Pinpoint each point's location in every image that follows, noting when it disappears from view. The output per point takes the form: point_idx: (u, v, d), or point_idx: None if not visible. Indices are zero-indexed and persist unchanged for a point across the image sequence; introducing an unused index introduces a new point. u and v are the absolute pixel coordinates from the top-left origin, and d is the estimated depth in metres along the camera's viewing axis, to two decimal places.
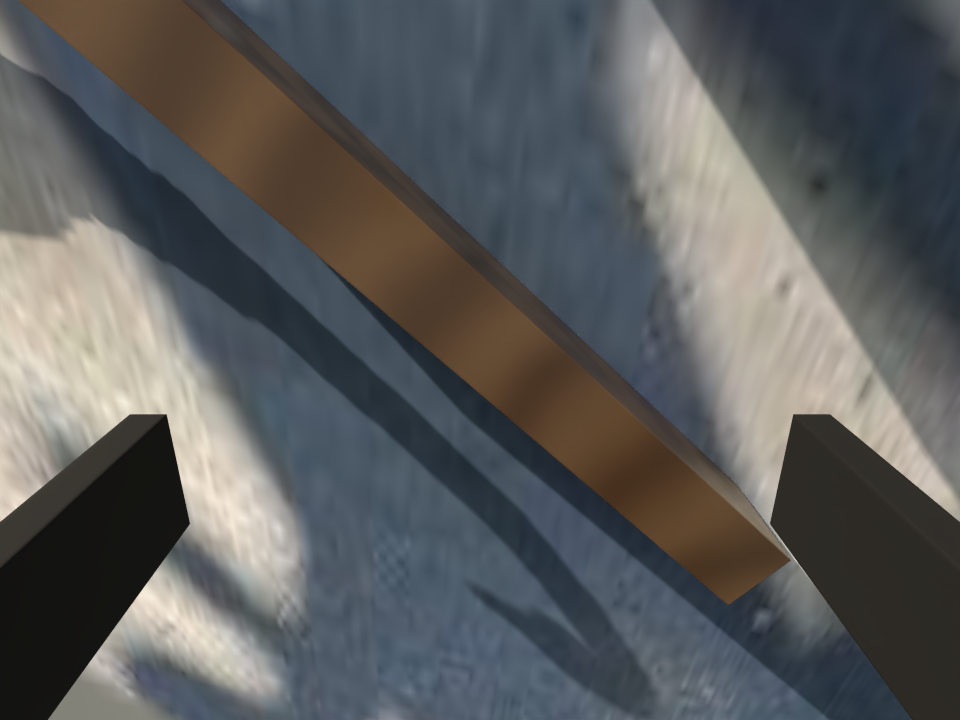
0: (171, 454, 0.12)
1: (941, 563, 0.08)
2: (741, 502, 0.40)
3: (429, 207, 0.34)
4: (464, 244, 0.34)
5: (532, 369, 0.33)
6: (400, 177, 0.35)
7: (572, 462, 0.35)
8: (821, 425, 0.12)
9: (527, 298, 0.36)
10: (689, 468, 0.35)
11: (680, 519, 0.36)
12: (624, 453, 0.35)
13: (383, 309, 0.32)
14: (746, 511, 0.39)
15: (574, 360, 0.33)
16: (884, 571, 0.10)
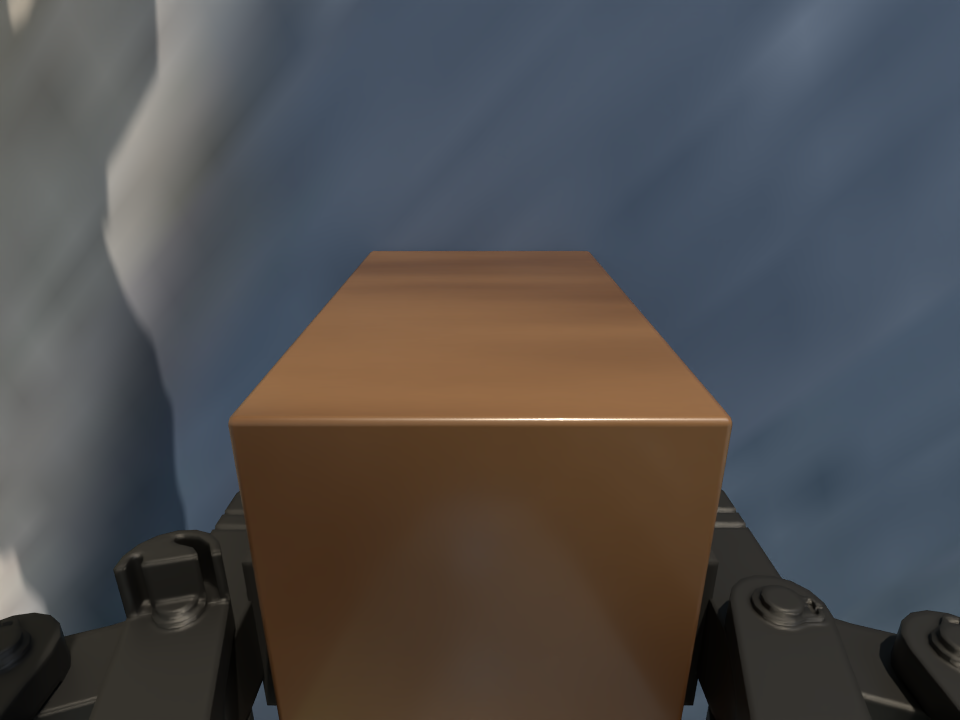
0: None
1: None
2: None
3: None
4: None
5: None
6: None
7: None
8: None
9: None
10: None
11: None
12: None
13: None
14: None
15: None
16: None
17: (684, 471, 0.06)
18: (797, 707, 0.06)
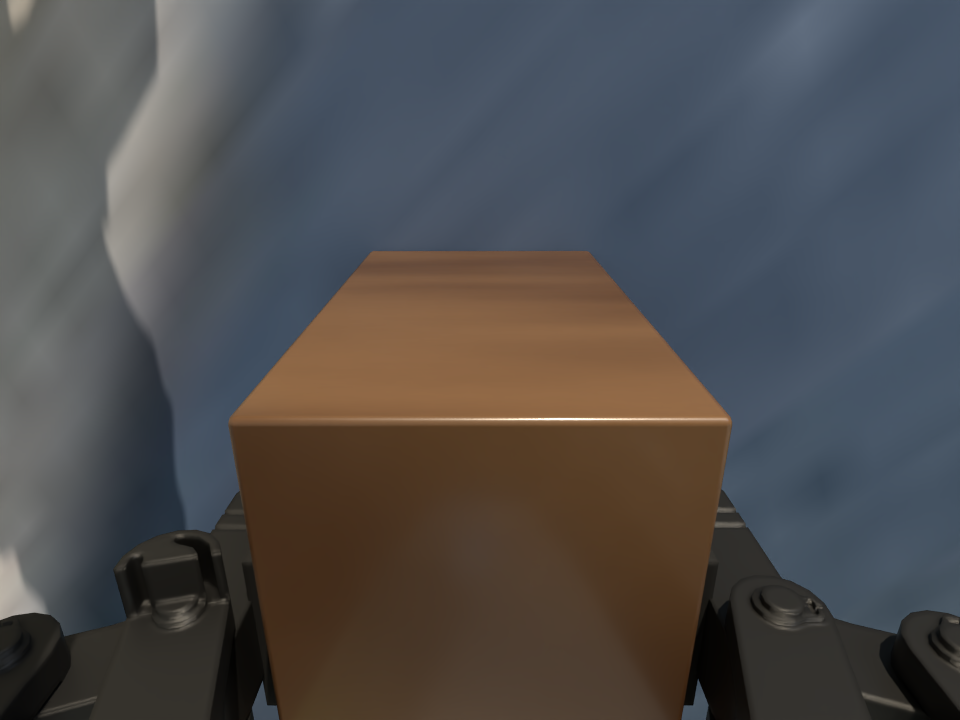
0: None
1: None
2: None
3: None
4: None
5: None
6: None
7: None
8: None
9: None
10: None
11: None
12: None
13: None
14: None
15: None
16: None
17: (684, 471, 0.06)
18: (797, 707, 0.06)
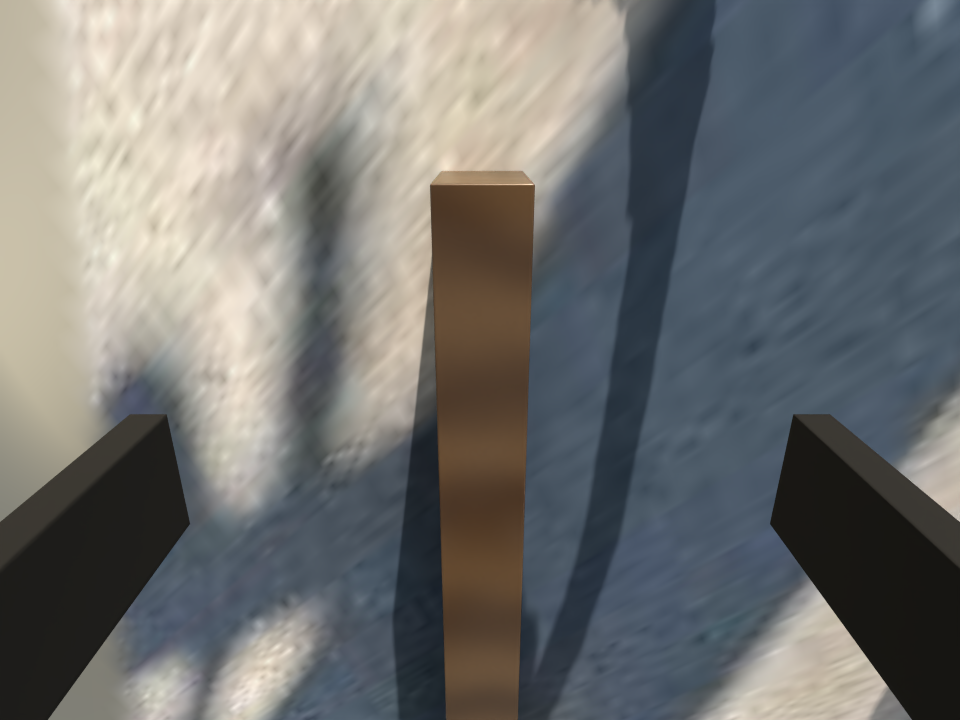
0: (170, 454, 0.12)
1: (941, 563, 0.08)
2: None
3: None
4: None
5: (490, 693, 0.41)
6: None
7: None
8: (821, 425, 0.12)
9: None
10: None
11: None
12: None
13: (444, 599, 0.38)
14: None
15: (517, 705, 0.41)
16: (884, 571, 0.10)
17: (525, 196, 0.29)
18: None
